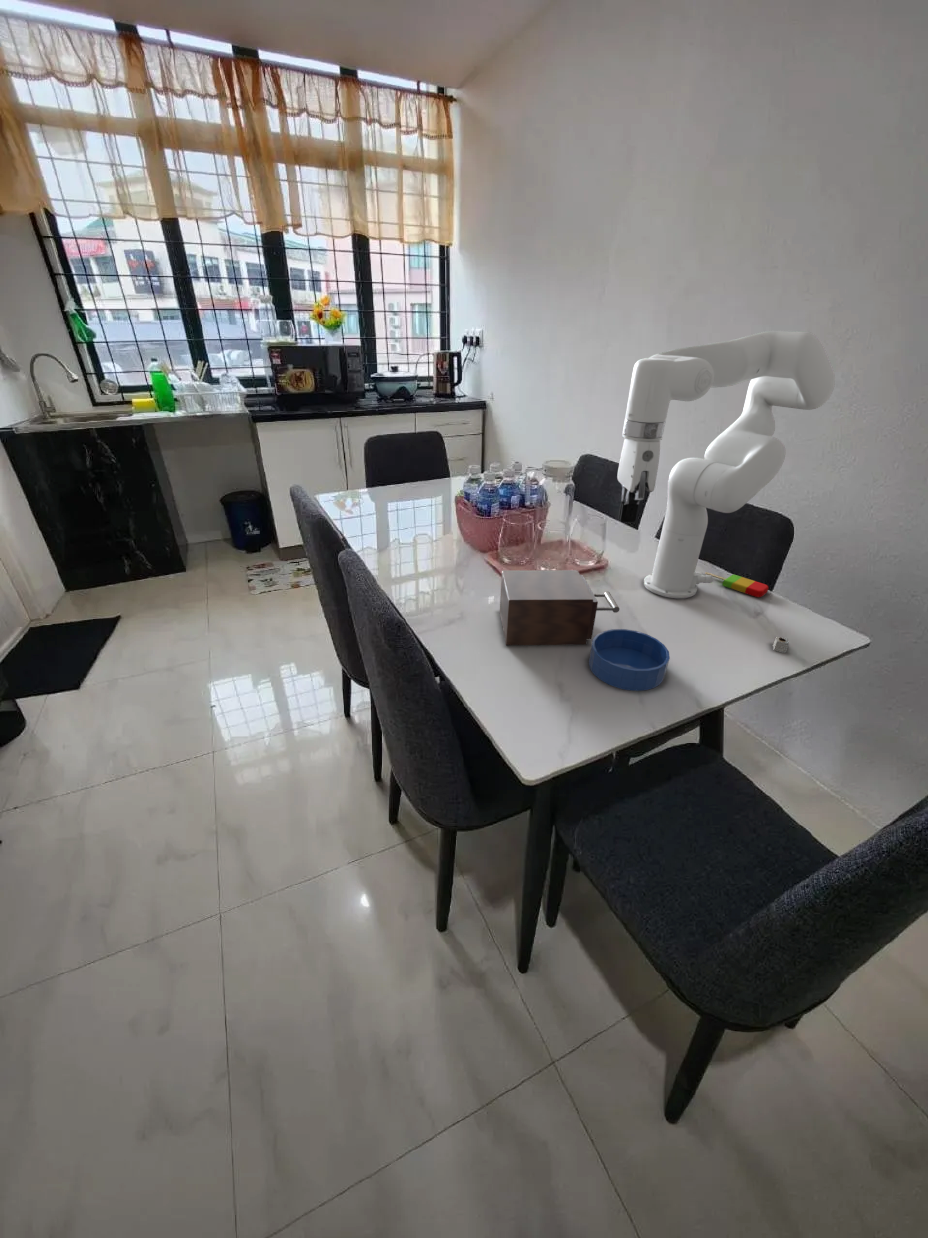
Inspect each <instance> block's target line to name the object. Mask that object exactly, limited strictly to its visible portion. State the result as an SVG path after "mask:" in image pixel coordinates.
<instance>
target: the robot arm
mask: <svg viewBox="0 0 928 1238" xmlns="http://www.w3.org/2000/svg"><path fill="white" fill-rule="evenodd" d="M745 382H749V384H748V387H747V391H746V394H745V395H746V396H745V399H744V404H743V409H742V412H741V414H740V416H739V417H738V418H737V419H736V420H735V421H734V422H733V423H731V424H730V425H729V426H728V427H727V428H725V429H724V431H722V432H721V433H720V434H719V435H717V437H715V439H713V441H711V443H710V444H709V445H708V446H707V448H706V450H705V453H704V456H703V457H704V458H702V457H701V458H700V457H685V458H683V459H680V460H679V461H678V462H677V463H675V464H674V466H673V467H672V468H671V470H670V472H669V476H668V480H667V502H666V510H665V515H664V519H663V524H662V529H661V532H660V537H659V542H658V546H657V549H656V554H655V559H654V564H653V567H652V572H651V573H650V574H648V575H646V576H645V577H644V579H643V586H644V587H645V588H646V589H647V590H648V591H650V592H651V593H653V594H655V595H658V596H661V597H664V598H671V599H688V598H691V597H693V596H695V595H696V594H697V592H698V585H699V584H701V583H703V584H711V583H712V582H713V580H714V579H713V578H714V577H713V576H711V575H707V574H704V575H703V572H702V571H696V570H697V569H696V568H697V565H698V562H699V557H700V554H701V550H702V547H703V542H704V540H705V535H706V532H707V528H708V525H709V517H708V511H707V509H709V510H712V511H715V512H720V513H723V514H730V513H734V512H736V511H738V510H740V509H741V508H743V507H744V506H745V505H746V504H747V503H749V502H750V500H751V499H753V498H754V497H755V496H756V495H757V494H758V493H759V492H760V491H762V489H764V488H765V487H766V486H767V485H768V484H769V483H770V482H771V481H772V480H774V478H775V477H776V476H777V474H778V473H779V471H780V470H781V468H782V466H783V464H784V462H785V459H786V454H787V453H786V446H785V444H784V443H783V441H782V440H781V439H779V438H778V437H774V436H773V435H774V434H775V431H776V421H775V417H774V414H773V412H772V410H773V407H780V408H788V409H796V410H803V411H811V410H816V409H818V408H820V407H822V406H824V405H825V404H826V403H827V402H828V401H829V399H830V398H831V396H832V394H833V392H834V390H835V384H836V374H835V370H834V367H833V365H832V362H831V360H830V357H829V354H828V352H827V350H826V347H825V346H824V344H823V342H822V340H821V339H820V338H819V337H818V336H817V335H816V334H815V333H813V332H811V331H800V330H798V331H796V330H795V331H794V330H766V331H761V332H757V333H754V334H750V335H746V336H743V337H738V338H735V339H730V340H726V341H718V342H711V343H706V344H702V345H701V344H700V345H695V346H688V347H687V346H686V347H681V348H675V349H670V350H667V351H666V350H665V351H663V352H659V353H656V354H655V353H654V354H653V355H651V356H649V357H645V358H641V359H638V360H637V361H636V362H635V363H634V365H633V369H632V373H631V380H630V386H629V391H628V399H627V405H626V411H625V417H624V422H623V429H622V435H621V437H622V438H623V444H622V448H621V451H620V457H619V463H618V468H617V476H616V478H617V481H618V483H620V486H621V495H620V499H621V501H620V506H619V511H618V518H617V519H618V520H619V521H620V522H621V523H635V522H636V519H637V514H638V510H639V505H640V502H641V501H643V500H644V499H645V491H646V492H648V493H653V492H654V491H655V488H656V482H657V476H658V471H659V463H660V456H661V455H660V454H661V441H662V440H663V437H664V432H665V427H666V421H667V417H668V413H669V412H668V411H669V408H670V402H671V401H678V402H679V401H680V402H694V401H697V400H699V399H701V398H702V397H704V396H706V394H707V393H708V392H709V391H710V389H711V388H728V387H729V388H730V387H734V386H736V385H739V384H743V383H745Z"/></svg>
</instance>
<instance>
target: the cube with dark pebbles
mask: <svg viewBox="0 0 928 1238" xmlns="http://www.w3.org/2000/svg"><path fill="white" fill-rule="evenodd" d="M789 645H790V641H789V638H787V637H783V636H782V637H780V636H775V639H774V641H773V644H772V649H773V651H775V652H779V653H784V654H787V653H786V652H787V650H788V647H789Z"/></svg>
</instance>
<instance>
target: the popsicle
mask: <svg viewBox="0 0 928 1238" xmlns="http://www.w3.org/2000/svg"><path fill="white" fill-rule="evenodd" d="M704 575H711V576H712V578H716V579H719V580H722V584H721V585H722V586H723V587H725V588H728V589H730V590H734V591H737V592H740V593H743V594H746V595H748V596H752V597H756V598H762V597H763V596H765V595H766V594H767V593H768V591H769V585H768V584H765V583H762V582H759V581H756V580H753V579H750V578H747V577H743V576H741V575H738V574H737V575H736V574H731V575H730V576H728V577H723V576H720V575H717V574H714V573H711V572H708V571H705V572H704Z"/></svg>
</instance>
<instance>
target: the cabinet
mask: <svg viewBox="0 0 928 1238" xmlns="http://www.w3.org/2000/svg"><path fill="white" fill-rule="evenodd" d="M580 575H581V574H580V572H579V570H578V569H563V570H562V569H553V570H552V569H544V570H543V569H538V570H537V569H535V570H534V569H533V570H532V569H531V570H528V569H527V570H525V569H523V570H521V569H520V570H517V569H516V570H515V569H514V570H513V569H512V570H511V569H510V570H507V569H506V570H504V569H503V570H501V580H500V582H501V583H500V598H499V600H500V601H499V616H500V621H501V626H502V632H503V638H504V642H505V646H578V645H579V646H586V645H587V641H588V639H587V635H588V629H589V623H590V617H591V611H592V605H593V598H592V596H591V594H590V592H589V591H588V589H587V587H586V585H585V583H584V581H583V580H582V578H581V576H580Z"/></svg>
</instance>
